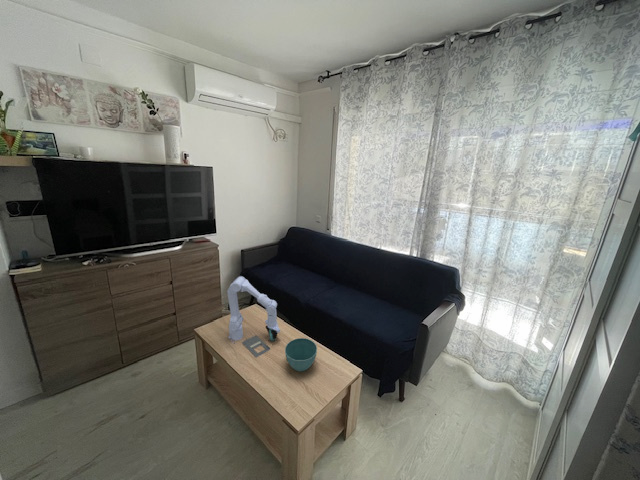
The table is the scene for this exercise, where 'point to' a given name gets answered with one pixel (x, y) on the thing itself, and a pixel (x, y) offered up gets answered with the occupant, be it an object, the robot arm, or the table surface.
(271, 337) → the peg
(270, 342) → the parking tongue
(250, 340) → the plate
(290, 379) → the table surface
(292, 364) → the teal bowl
